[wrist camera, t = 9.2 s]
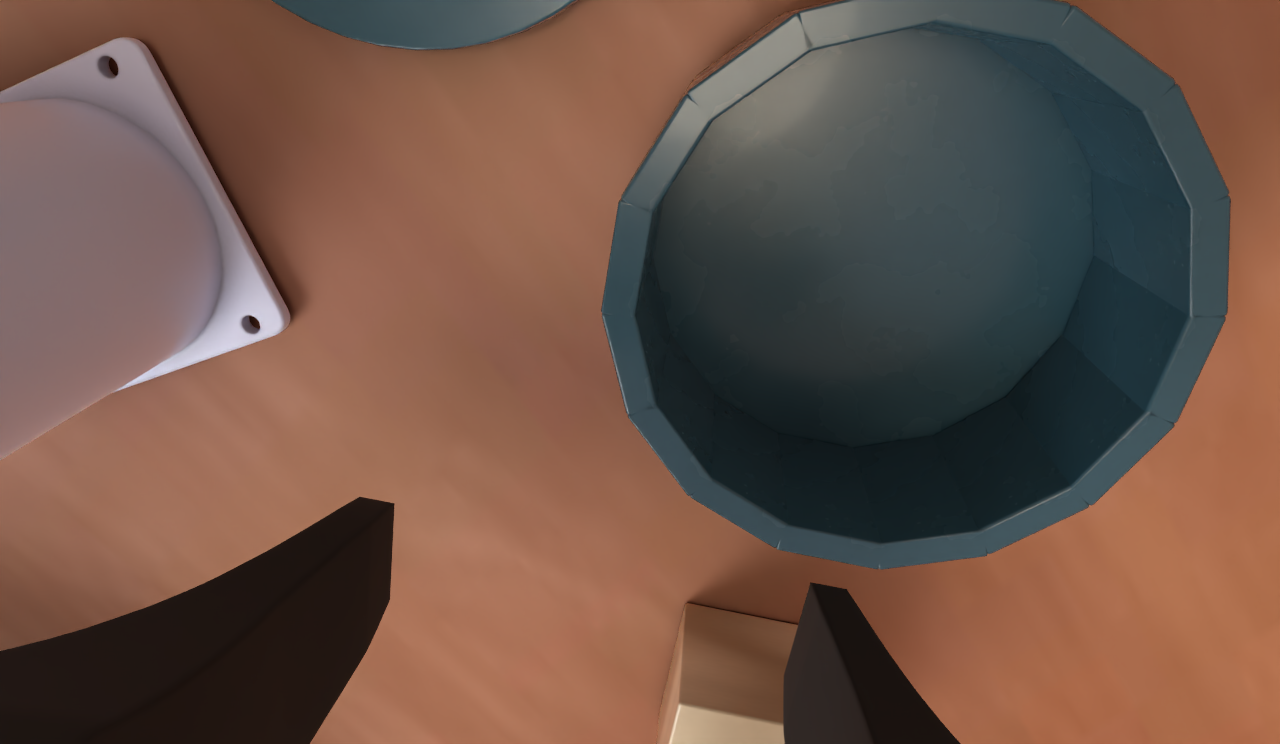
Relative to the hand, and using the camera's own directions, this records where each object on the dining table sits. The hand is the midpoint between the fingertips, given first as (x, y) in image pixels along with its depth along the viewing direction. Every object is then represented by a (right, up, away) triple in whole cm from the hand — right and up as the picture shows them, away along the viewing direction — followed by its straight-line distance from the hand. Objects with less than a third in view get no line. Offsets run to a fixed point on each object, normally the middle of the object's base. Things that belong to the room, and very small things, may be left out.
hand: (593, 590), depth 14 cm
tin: (+6, +7, +7) cm, 12 cm away
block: (+4, -6, +12) cm, 14 cm away
